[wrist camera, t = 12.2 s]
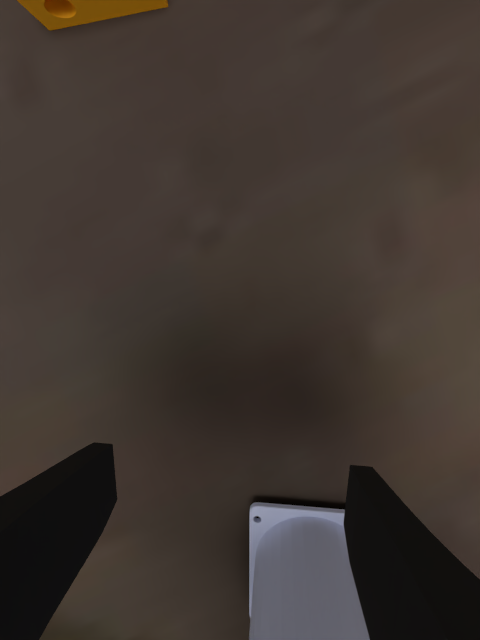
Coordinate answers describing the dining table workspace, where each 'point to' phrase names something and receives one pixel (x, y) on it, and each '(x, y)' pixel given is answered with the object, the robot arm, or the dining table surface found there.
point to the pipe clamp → (85, 10)
